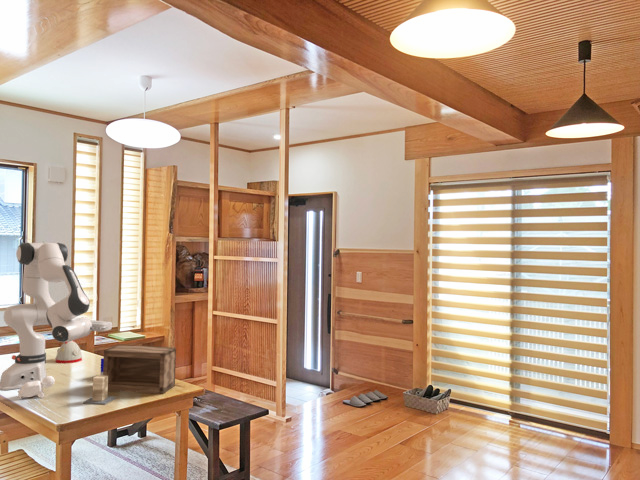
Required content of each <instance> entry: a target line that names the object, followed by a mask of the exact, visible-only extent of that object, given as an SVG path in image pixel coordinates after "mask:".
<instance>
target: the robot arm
mask: <svg viewBox="0 0 640 480" xmlns="http://www.w3.org/2000/svg"><path fill="white" fill-rule="evenodd" d="M15 254H16V258H17V262H18V263H19V264H21V265H24V268H23V276H22V277H23V278H22V292H23V293H24V295H26V296H28V297H30V298H33V299H34V303H23V304H22V303H20V304H14V305H11V306H8V307H7V308H6V309H5V311H4V313H3V321H4V323H5V324H6V326H8V327H10V328H11V329H13V330H14V332H15V333H16V334H17V336H18V342H19V354H18V355H15V354H13V355H11V359H12V360H13V361H14V363H12V364H11V365H10V366H9V367H8V368H6V369H5V370H3V372H2V373H1V375H0V390H1V391H9V390H17V389H21V387H22V386H23V385H24V384H25V383H27V382H32V381H41V382H43V379H44V378H45V377H46V376H47V372H46V362H47V353H46V337H45V336H44V334H42V333H40V332H37V331H35V330H34V326H46V325H49V326H50V327H51V329H52V330H51V336H52V338H53V339H54V340H56V341H57V342H60V343H65V342H69V341H73V340H77V339H82V338H85V337H88V336H89V335H90V334H91V333H92V332H107V331H110V330H112V328H113V323H112V322H111V321H108V320H107V321H105V320H95V319H94V320H93V319H89V318H88V317H84V316H82V315H84V314H86V313H87V312H88V311H89V308H90V299H89V298H88V296H87V294H86V292H84V289H83V287H82V284H81V283H80V281H79V279H78V277H77V274H76V272H75V270H74V269H73V268H72V267H71V266H70V265H69V264H67V265H66V263H65V262H67V259H68V257H69V252H68V247H67V246H66V244H64V243H60V242H57V243H55V242H47V241H46V242H45V241H42V242H23V243H20V244H19V245H18V246H17V249H16V253H15ZM62 282H65V285H66V286H67V289H68V295H66V297H64V298H62V299H61V300H60V301H57V302H55V300H53V298H52V297H51V295H50V290H49V288H50V287H49V283H62ZM81 316H82V317H81Z"/></svg>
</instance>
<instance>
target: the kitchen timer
mask: <svg viewBox="0 0 640 480" xmlns="http://www.w3.org/2000/svg"><path fill="white" fill-rule="evenodd" d="M82 360H83V354H82V350H81V348H80V345H78V344H77V342H75V340H73V341H69V342H62V344H61V345H60V347H59V348H58V349H57V351H56V356H55V362H56V363H58V364H73V363H78V362H82Z"/></svg>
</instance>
